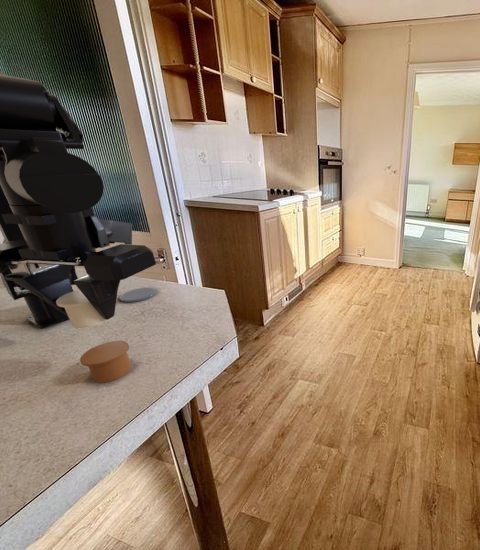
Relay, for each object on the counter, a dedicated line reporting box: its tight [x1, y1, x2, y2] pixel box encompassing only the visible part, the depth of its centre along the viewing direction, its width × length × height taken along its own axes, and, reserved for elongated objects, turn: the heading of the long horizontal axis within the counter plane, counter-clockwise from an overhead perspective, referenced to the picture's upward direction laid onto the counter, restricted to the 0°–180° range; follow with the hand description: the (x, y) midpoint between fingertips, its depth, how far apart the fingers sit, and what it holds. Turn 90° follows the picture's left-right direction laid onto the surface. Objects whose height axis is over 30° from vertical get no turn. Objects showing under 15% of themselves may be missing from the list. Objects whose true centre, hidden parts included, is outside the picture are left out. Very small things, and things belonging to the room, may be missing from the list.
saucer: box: [119, 287, 156, 303], centre depth 66 cm, size 6×6×1 cm
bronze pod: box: [79, 340, 133, 384], centre depth 43 cm, size 5×5×4 cm
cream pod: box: [56, 289, 112, 329], centre depth 39 cm, size 5×5×4 cm
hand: (92, 316), depth 40 cm, fingers closed on cream pod, 5 cm apart
